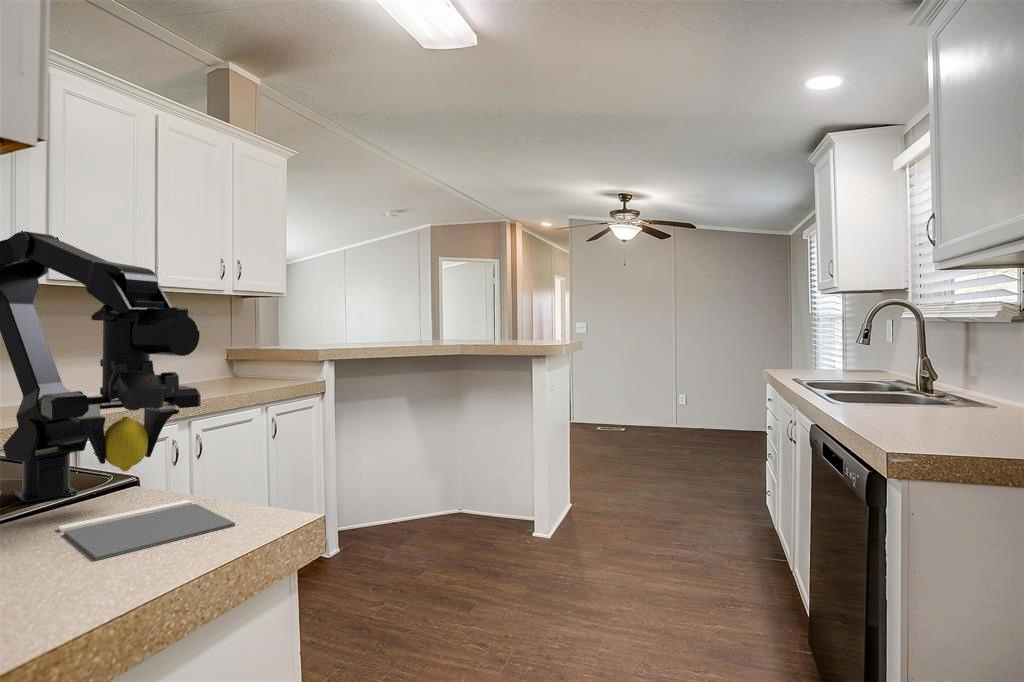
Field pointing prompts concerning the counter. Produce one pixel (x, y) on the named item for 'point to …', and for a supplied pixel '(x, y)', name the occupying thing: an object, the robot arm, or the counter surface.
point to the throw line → (123, 515)
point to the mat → (146, 530)
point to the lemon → (125, 443)
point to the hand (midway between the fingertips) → (125, 460)
